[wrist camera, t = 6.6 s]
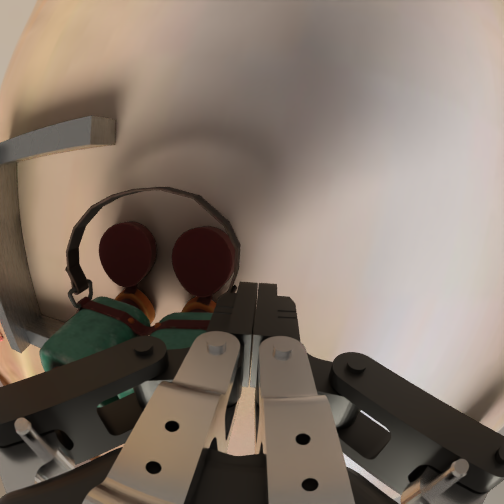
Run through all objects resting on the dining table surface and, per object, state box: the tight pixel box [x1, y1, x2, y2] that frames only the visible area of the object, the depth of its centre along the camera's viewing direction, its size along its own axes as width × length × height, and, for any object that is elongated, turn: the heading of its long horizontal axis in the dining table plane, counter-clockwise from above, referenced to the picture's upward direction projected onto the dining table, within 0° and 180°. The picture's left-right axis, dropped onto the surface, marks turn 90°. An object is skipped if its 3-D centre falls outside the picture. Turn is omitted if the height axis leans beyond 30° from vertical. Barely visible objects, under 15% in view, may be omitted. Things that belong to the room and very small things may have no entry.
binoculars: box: [40, 187, 240, 444], centre depth 11 cm, size 9×11×10 cm
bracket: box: [0, 116, 116, 353], centre depth 12 cm, size 16×12×7 cm
